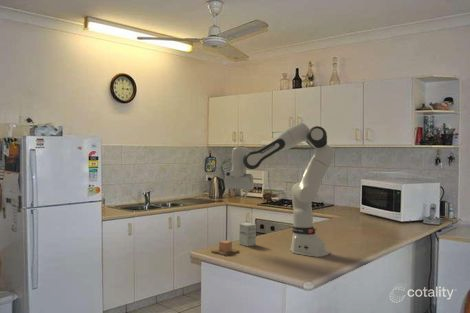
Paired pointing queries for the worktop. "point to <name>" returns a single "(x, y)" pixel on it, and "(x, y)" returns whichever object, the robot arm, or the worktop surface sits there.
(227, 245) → the terracotta cube
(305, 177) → the robot arm
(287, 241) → the worktop surface
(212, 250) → the walnut board
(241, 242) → the supplement box
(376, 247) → the worktop surface
